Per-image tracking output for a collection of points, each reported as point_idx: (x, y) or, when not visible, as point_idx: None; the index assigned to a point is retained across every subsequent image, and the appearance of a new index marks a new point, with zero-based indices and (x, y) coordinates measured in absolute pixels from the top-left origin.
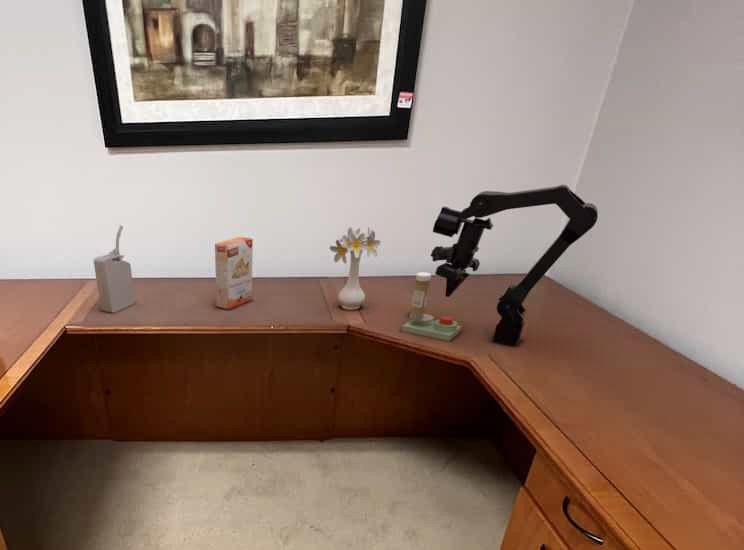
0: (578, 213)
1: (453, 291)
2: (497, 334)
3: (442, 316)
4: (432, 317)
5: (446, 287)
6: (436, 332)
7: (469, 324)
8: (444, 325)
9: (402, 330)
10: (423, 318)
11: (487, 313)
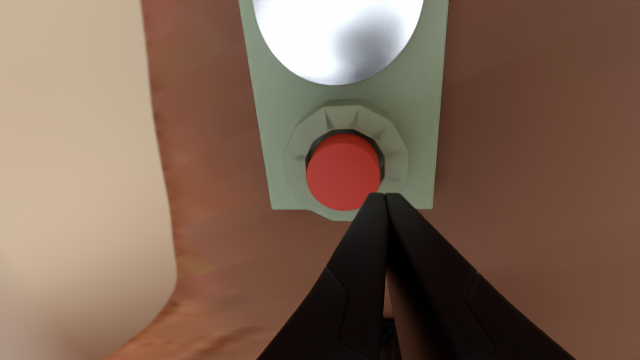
0: None
1: (390, 286)
2: (392, 345)
3: (353, 146)
4: (368, 69)
5: (336, 251)
6: (263, 146)
7: (565, 196)
8: (293, 179)
9: None
10: (311, 26)
11: None
